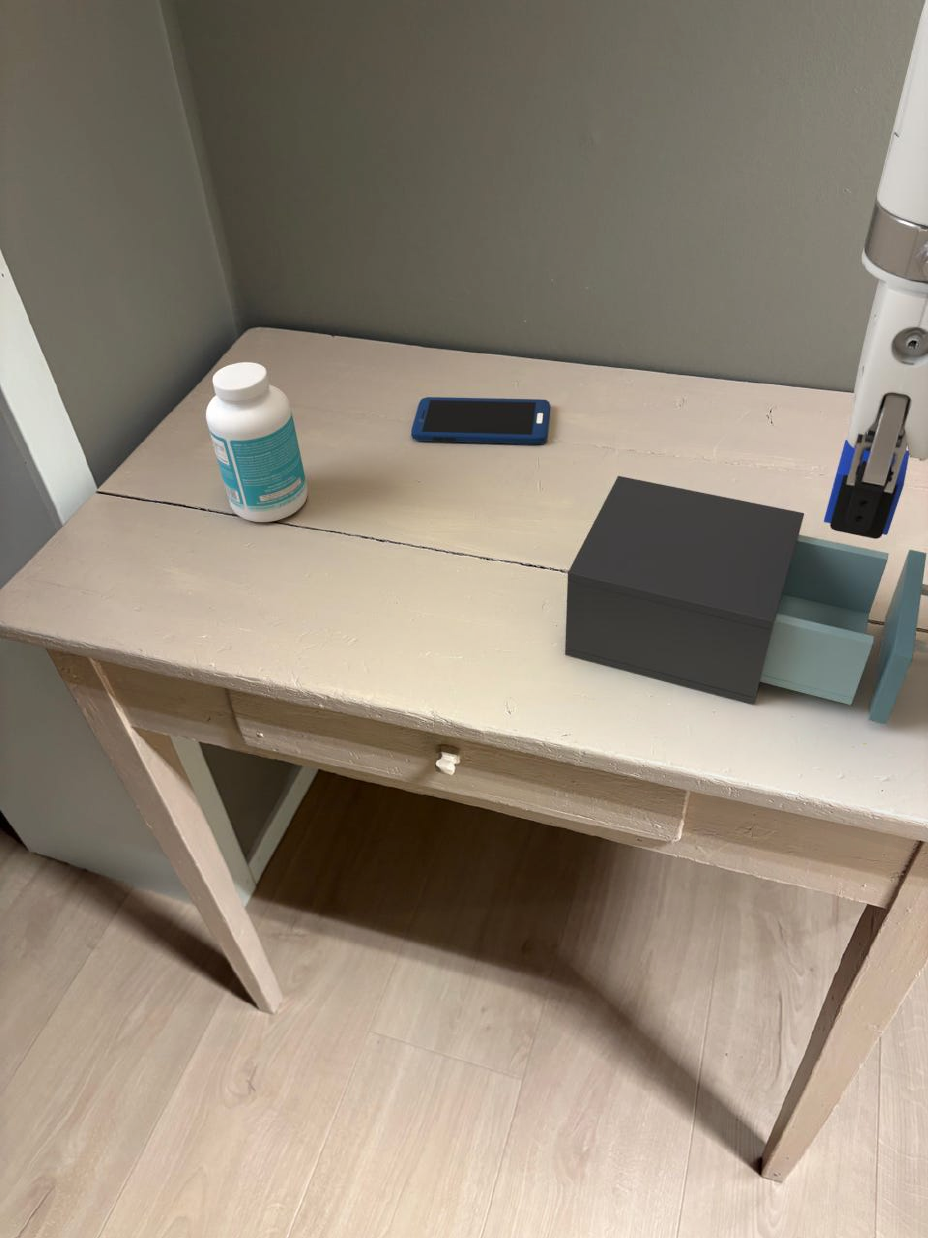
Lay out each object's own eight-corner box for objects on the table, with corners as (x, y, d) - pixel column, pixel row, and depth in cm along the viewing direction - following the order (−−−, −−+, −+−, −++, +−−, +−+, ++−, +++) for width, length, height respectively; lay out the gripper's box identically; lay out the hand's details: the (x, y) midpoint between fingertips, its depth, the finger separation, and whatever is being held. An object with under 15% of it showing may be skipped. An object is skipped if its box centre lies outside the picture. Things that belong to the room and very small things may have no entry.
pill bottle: (322, 485, 93) (298, 359, 83) (287, 532, 88) (258, 403, 78) (253, 473, 95) (223, 349, 85) (216, 518, 90) (179, 391, 80)
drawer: (970, 635, 73) (1000, 567, 69) (962, 745, 66) (995, 678, 61) (728, 579, 79) (740, 514, 74) (695, 675, 72) (706, 609, 67)
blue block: (893, 500, 65) (910, 450, 62) (887, 535, 62) (903, 485, 59) (832, 488, 66) (845, 438, 63) (823, 522, 63) (836, 472, 61)
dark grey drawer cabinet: (783, 596, 79) (804, 512, 73) (753, 705, 70) (774, 621, 64) (611, 556, 83) (618, 475, 77) (564, 655, 75) (567, 572, 69)
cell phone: (547, 444, 96) (547, 438, 95) (409, 441, 97) (409, 434, 97) (551, 405, 101) (551, 398, 100) (420, 402, 103) (420, 396, 102)
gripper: (1014, 318, 45) (907, 604, 57) (1022, 188, 55) (930, 453, 68) (846, 296, 47) (779, 575, 60) (885, 175, 58) (821, 434, 71)
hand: (860, 508), depth 64 cm, fingers closed on blue block, 4 cm apart
